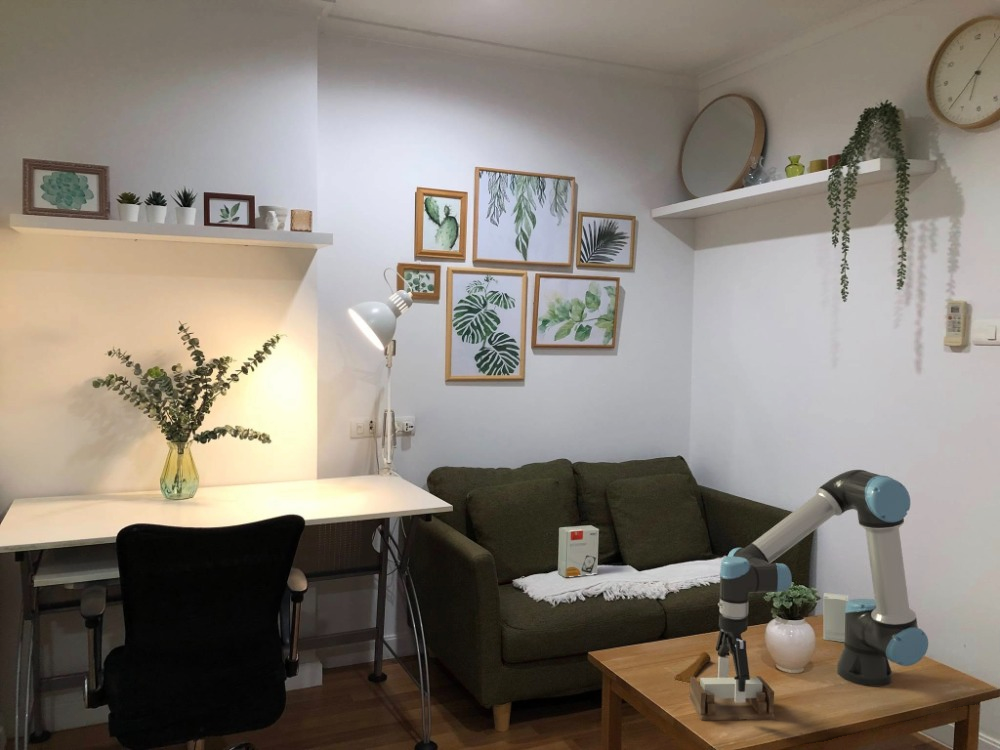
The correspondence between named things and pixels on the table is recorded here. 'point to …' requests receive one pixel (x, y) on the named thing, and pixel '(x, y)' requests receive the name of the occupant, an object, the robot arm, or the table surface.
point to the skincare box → (834, 616)
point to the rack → (732, 704)
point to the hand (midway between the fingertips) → (731, 690)
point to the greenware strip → (729, 687)
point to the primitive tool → (693, 668)
